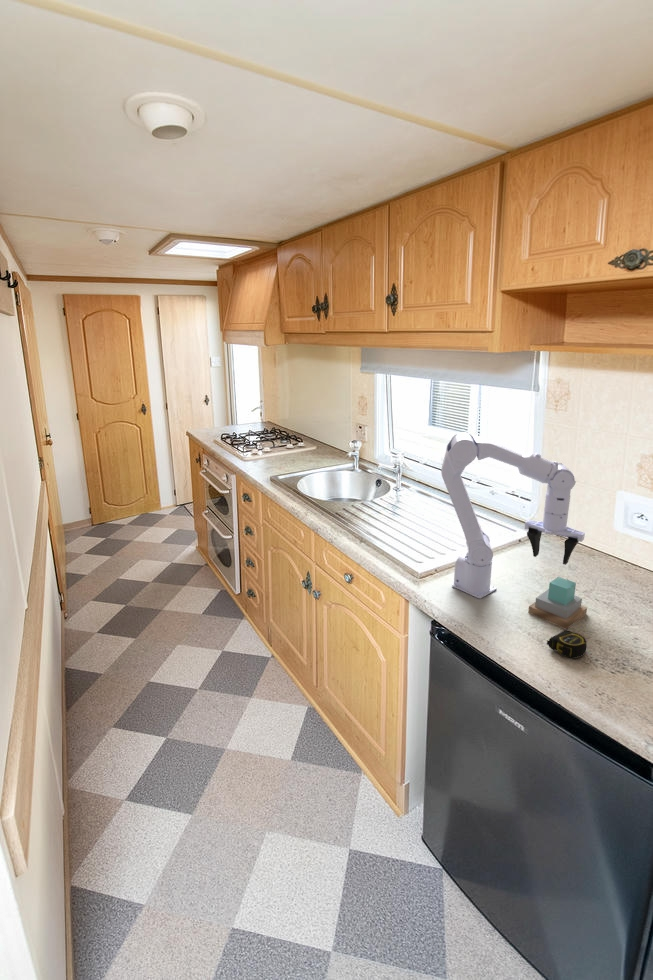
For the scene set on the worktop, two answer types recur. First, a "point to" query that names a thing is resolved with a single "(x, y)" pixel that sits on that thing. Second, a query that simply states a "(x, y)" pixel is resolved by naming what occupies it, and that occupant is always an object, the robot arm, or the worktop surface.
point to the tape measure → (568, 644)
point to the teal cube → (561, 590)
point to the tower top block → (557, 605)
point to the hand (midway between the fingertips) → (550, 559)
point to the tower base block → (557, 619)
